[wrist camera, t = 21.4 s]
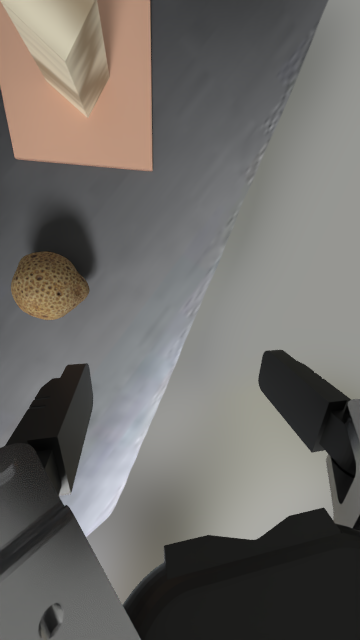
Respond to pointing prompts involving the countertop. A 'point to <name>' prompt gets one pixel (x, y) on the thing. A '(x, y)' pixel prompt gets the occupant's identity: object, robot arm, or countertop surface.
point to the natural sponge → (47, 285)
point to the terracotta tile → (110, 109)
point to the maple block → (65, 46)
